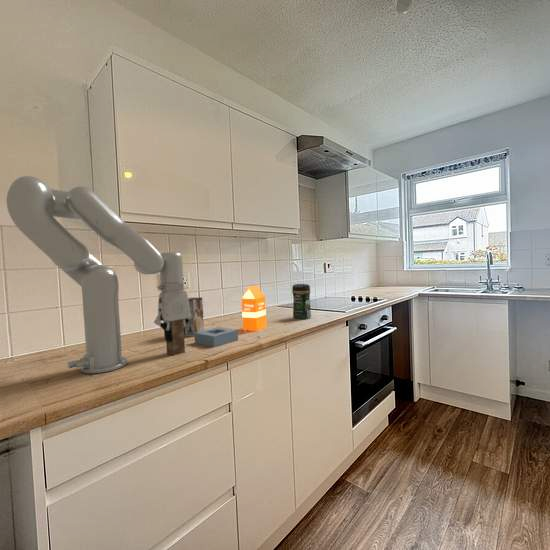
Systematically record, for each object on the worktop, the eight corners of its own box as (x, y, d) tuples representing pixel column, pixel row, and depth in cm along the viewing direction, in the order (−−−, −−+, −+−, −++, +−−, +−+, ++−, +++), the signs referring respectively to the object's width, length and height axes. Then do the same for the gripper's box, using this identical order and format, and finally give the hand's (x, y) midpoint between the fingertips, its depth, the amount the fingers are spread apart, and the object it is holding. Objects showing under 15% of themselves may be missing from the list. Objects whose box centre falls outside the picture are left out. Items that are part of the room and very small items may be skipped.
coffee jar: (290, 318, 164) (289, 284, 163) (300, 316, 169) (298, 283, 168) (304, 320, 157) (302, 284, 156) (313, 317, 162) (312, 283, 162)
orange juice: (266, 327, 142) (264, 285, 142) (257, 331, 134) (255, 286, 134) (252, 326, 146) (250, 285, 145) (242, 330, 138) (240, 287, 137)
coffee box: (191, 331, 139) (189, 297, 139) (204, 331, 138) (202, 297, 138) (181, 336, 130) (179, 299, 130) (195, 336, 129) (193, 299, 129)
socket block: (214, 347, 111) (213, 336, 111) (195, 342, 118) (194, 332, 118) (238, 340, 120) (237, 330, 120) (218, 336, 128) (218, 327, 127)
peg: (173, 355, 102) (171, 314, 102) (166, 353, 105) (164, 313, 105) (185, 352, 106) (182, 312, 105) (178, 350, 108) (176, 311, 108)
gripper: (155, 290, 96) (158, 346, 96) (199, 286, 109) (201, 336, 109) (143, 289, 101) (146, 343, 101) (187, 285, 113) (189, 333, 114)
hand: (175, 339), depth 105 cm, fingers closed on peg, 4 cm apart
